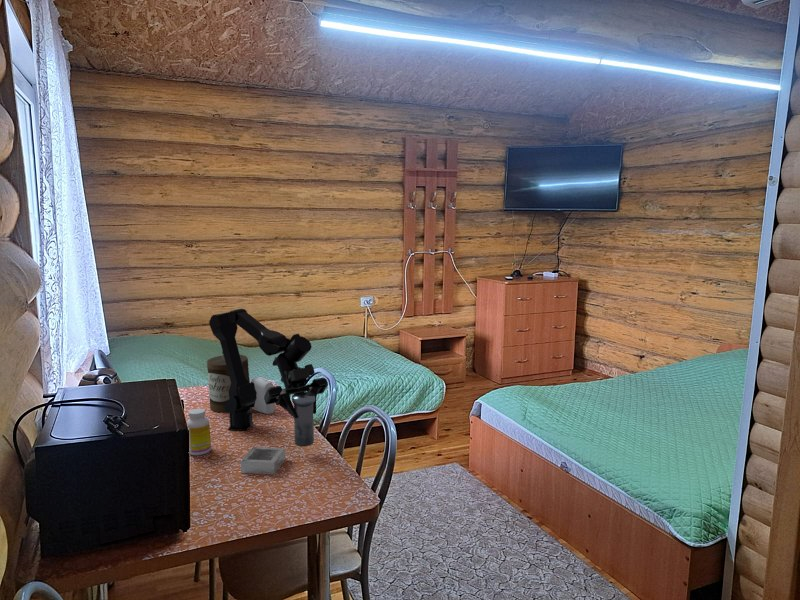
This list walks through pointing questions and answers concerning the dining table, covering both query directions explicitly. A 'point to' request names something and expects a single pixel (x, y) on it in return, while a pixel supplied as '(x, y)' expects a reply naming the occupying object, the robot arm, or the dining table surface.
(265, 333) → the robot arm
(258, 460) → the gray square frame
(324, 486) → the dining table surface
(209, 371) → the wooden container
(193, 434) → the supplement bottle
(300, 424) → the dark grey metal cylinder
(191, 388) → the dining table surface
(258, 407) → the white rounded block
